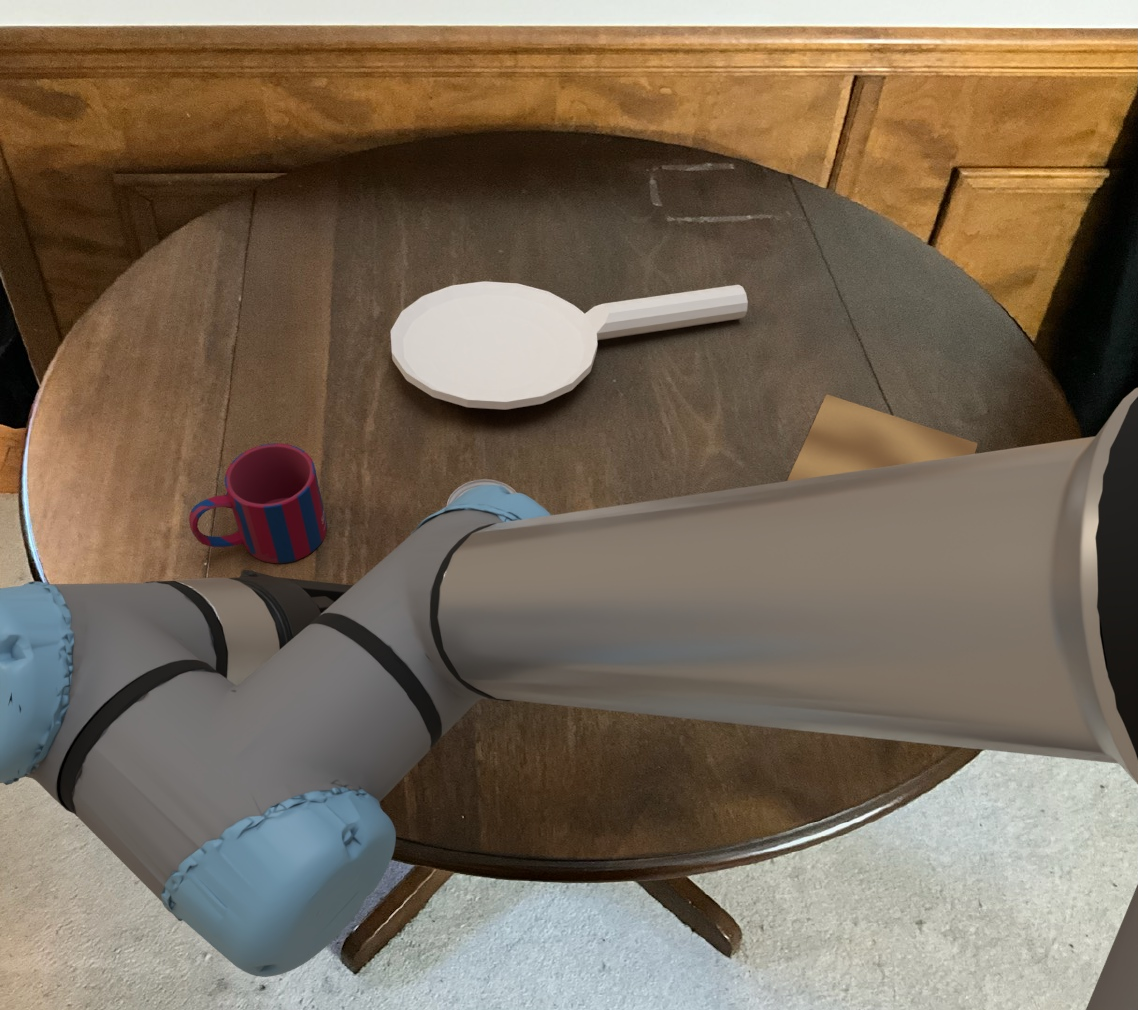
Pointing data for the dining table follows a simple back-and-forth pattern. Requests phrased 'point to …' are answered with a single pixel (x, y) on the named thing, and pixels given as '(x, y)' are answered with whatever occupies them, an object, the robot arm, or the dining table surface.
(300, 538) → the mug
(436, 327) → the frying pan
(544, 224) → the dining table surface
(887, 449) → the wooden cutting board
